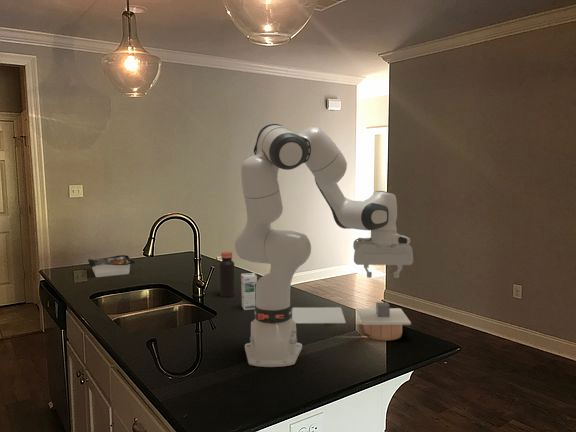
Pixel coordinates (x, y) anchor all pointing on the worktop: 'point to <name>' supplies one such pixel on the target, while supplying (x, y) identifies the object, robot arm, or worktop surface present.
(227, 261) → the bottle
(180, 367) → the worktop surface
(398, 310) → the cover sheet
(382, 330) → the bowl
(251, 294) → the syrup box
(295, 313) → the mat
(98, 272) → the food packaging
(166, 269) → the worktop surface
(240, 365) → the worktop surface
